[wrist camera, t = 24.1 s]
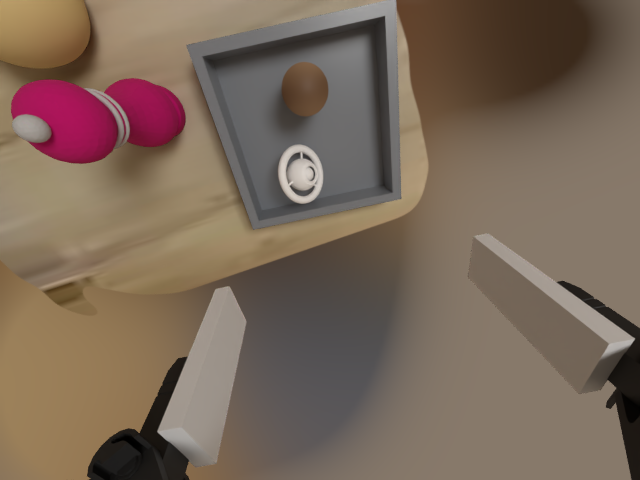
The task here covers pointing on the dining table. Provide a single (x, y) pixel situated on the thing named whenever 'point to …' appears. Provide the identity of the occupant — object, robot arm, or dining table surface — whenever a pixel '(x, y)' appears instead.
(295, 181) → the ring around a ball
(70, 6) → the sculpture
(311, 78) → the walnut cylinder
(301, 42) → the tray
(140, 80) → the pepper mill
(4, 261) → the dining table surface
